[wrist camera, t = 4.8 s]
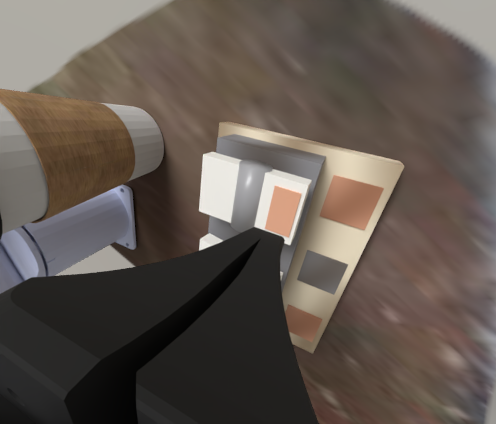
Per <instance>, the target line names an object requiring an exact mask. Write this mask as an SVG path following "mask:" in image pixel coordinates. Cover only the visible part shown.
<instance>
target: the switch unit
mask: <svg viewBox="0 0 496 424" xmlns="http://www.w3.org/2000/svg"><path fill="white" fill-rule="evenodd" d="M216 153H219V154H222V155H226V156H229V157H233V158H236V159H240V160H255V161H260V162H264V163H267V164H269V165H270V166H272V169H275V170H278V171H282V172H285V173H289V174H292V175H296V176H299V177H303V178H306V179H310V180H312V182H311V185H310V188H309V191H308V195H307V198H306V201H305V204H304V208H303V211H302V214H301V217H300V221H299V224H298V227H297V230H296V234H295V237H294V239H293V241H292V243H291V245H288V244H285V243H284V245H283V249H282V252H281V258H280V271H281V272H283V276H282V279H281V290H282V298H283V304H284V310H285V316H286V320H287V325H288V330H289V333H290V337H291V341H292V344H294V345H296V346H298V347H300V348H302V349H304V350H306V351H308V352H310V353H312V354H313V352H314V350H315V348H316V346H317V344H318V342H319V340H320V338H321V336H322V334H323V332H324V330H325V328H326V326H327V324H328V322H329V320H330V318H331V316H332V313H333V311H334V309H335V307H336V305H337V303H338V301H339V299H340V297H341V295H342V293H343V291H344V289H345V287H346V285H347V283H348V281H349V279H350V277H351V275H352V273H353V271H354V269H355V266H356V264H357V262H358V260H359V258H360V256H361V254H362V252H363V250H364V248H365V246H366V244H367V242H368V240H369V238H370V236H371V234H372V232H373V230H374V228H375V226H376V224H377V222H378V219H379V217H380V215H381V213H382V211H383V209H384V207H385V205H386V203H387V201H388V199H389V197H390V195H391V193H392V191H393V189H394V187H395V185H396V183H397V181H398V179H399V177H400V174H401V172H402V170H403V168H404V165H403V164H402V163H401V162H400V161H397V160H392V159H388V158H384V157H380V156H375V155H371V154H367V153H362V152H358V151H354V150H349V149H345V148H341V147H336V146H332V145H328V144H323V143H319V142H315V141H310V140H306V139H302V138H297V137H293V136H289V135H284V134H280V133H276V132H272V131H267V130H263V129H259V128H254V127H250V126H246V125H241V124H237V123H233V122H221V123H219V133H218V139H217V149H216ZM209 233H210V234H212V235H214V236H216V237H218V238H220V239H221V240H223V241H225V240H227V239H229V238H231V237H234V236H236V235H238V234H240V233H242V232H238V231H236V230H235V229H233V228H232V227H231V225H230V223H229V222H227V221H224V220H221V219H219V218H216V217H213V216H211V215H210V219H209V229H208V234H209Z"/></svg>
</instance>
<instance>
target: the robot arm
mask: <svg viewBox="0 0 496 424" xmlns="http://www.w3.org/2000/svg"><path fill="white" fill-rule="evenodd" d="M114 242H116V243H118V244H120V245H123V246H125V247H127V248H129V249H132V250H133V249H135V248H136V235H135V221H134V207H133V194H132V190H131V188H130V187H128V186H125V185H120V186H118V187H116V188H114V189H111V190H109V191H107V192H105V193H103V194H101V195H98V196H96V197H94V198H92V199H90V200H87V201H85V202H83V203H81V204H79V205H76V206H74V207H72V208H70V209H68V210H65V211H63V212H61V213H59V214H57V215H55V216H52V217H50V218H48V219H46V220H44V221H41V222H38V223H28V224H25V225H23V226H21V227H18V228H16V229H13V230H11V231H9V232H6V233H4V234H2V237H1V240H0V424H319V423H318V420H317V418H316V415H315V412H314V410H313V407H312V404H311V401H310V399H309V396H308V393H307V390H306V387H305V384H304V381H303V378H302V375H301V372H300V369H299V366H298V362H297V359H296V355H295V352H294V348H293V344H292V341H291V337H290V333H289V330H288V325H287V320H286V316H285V310H284V304H283V298H282V290H281V277H280V258H281V252H282V249H283V245H284V242H285V240H284V238H283V237H282V236H279V235H276V234H273V233H271V232H268V231H265V230H262V229H259V228H256V227H253V228H251V229H248V230H246V231H244V232H242V233H240V234H238V235H236V236H234V237H231V238H229V239H227V240H225V241H222V242H220V243H218V244H215V245H213V246H210V247H207V248H205V249H202V250H200V251H197V252H194V253H191V254H188V255H185V256H181V257H177V258H174V259H170V260H166V261H162V262H157V263H152V264H147V265H143V266H138V267H133V268H126V269H120V270H113V271H105V272H97V273H88V274H77V275H61V276H55V275H56V274H58V273H60V272H61V271H63V270H65V269H67V268H69V267H71V266H72V265H74V264H76V263H78V262H80V261H81V260H83V259H85V258H87V257H89V256H90V255H92V254H94V253H95V252H97V251H99V250H101V249H103V248H105V247H106V246H108V245H110V244H112V243H114Z"/></svg>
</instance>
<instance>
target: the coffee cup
mask: <svg viewBox="0 0 496 424" xmlns="http://www.w3.org/2000/svg"><path fill="white" fill-rule="evenodd" d="M163 155H164V142H163V137H162V134H161V131H160V129H159V127H158V125H157V123H156V122H155V121H154V119H153V118H152V117H151V116H150V115H149V114H148V113H147V112H145V111H144V110H142V109H140V108H137V107H132V106H123V105H114V104H104V103H98V102H93V101H85V100H78V99H71V98H64V97H56V96H49V95H42V94H34V93H27V92H20V91H12V90H5V89H0V240H1V237H2V234H4V233H6V232H9V231H11V230H13V229H16V228H18V227H21V226H23V225H25V224H28V223H38V222H41V221H44V220H46V219H48V218H50V217H52V216H55V215H57V214H59V213H61V212H63V211H65V210H68V209H70V208H72V207H74V206H76V205H79V204H81V203H83V202H85V201H87V200H90V199H92V198H94V197H96V196H98V195H101V194H103V193H105V192H107V191H109V190H111V189H114V188H116V187H118V186H120V185H122V184H125V183H126V182H128V181H130V180H133V179H135V178H137V177H140V176H142V175H145V174H147V173H149V172H152V171H154V170H155V169H156V168H158V166H159V165H160V164H161V161H162V159H163Z"/></svg>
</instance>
